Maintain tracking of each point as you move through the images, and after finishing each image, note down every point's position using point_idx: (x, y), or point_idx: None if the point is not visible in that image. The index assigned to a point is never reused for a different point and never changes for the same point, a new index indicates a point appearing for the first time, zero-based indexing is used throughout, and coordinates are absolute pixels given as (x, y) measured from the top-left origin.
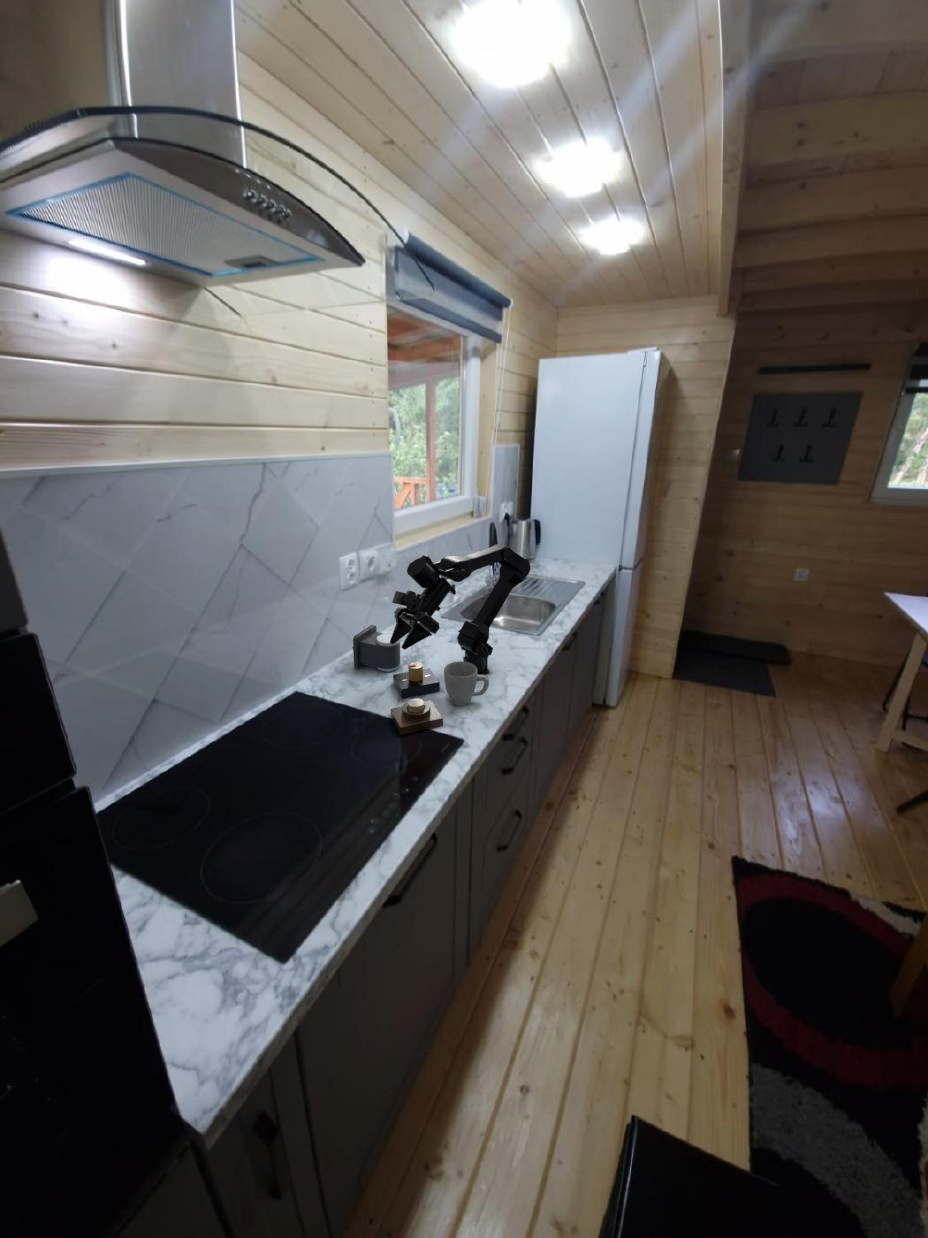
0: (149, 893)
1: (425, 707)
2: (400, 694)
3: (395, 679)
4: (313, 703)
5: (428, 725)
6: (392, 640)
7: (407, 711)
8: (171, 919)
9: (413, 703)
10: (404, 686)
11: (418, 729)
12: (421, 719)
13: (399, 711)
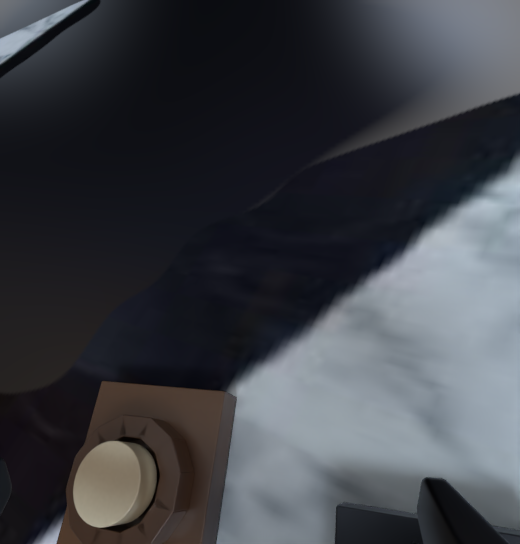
0: (57, 20)
1: None
2: (368, 506)
3: None
4: (449, 163)
5: None
6: (435, 520)
7: (117, 429)
8: (13, 46)
9: (106, 466)
10: (361, 538)
11: None
12: None
13: (187, 418)
